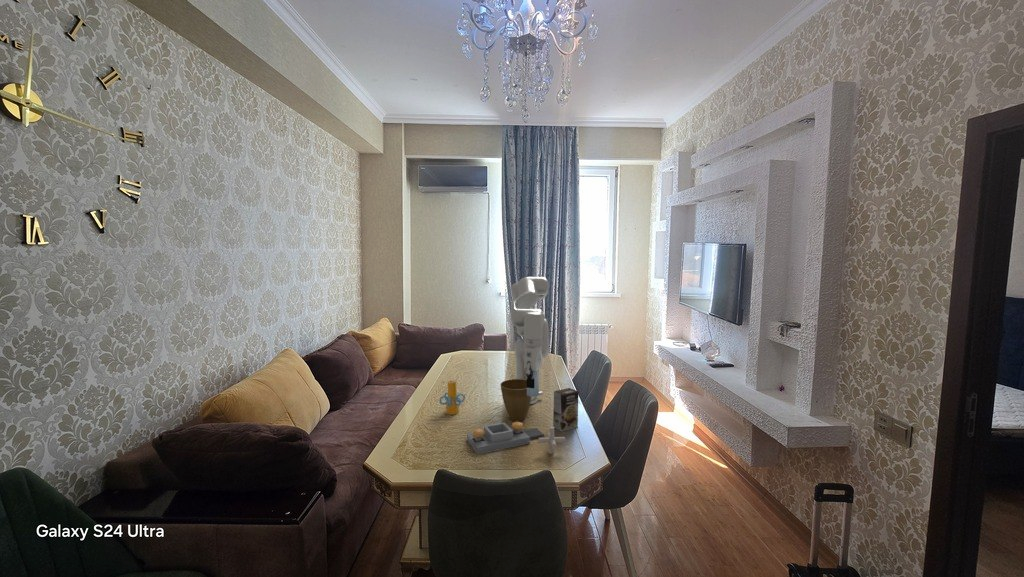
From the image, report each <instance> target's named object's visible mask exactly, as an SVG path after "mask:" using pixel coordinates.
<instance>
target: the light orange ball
mask: <svg viewBox="0 0 1024 577" xmlns="http://www.w3.org/2000/svg"><path fill="white" fill-rule="evenodd" d="M523 424H524V423H523V422H520V421H514V422H512V423H511V426H512V429H514V434H515V435H516V434H521V430H523V429H524V425H523Z"/></svg>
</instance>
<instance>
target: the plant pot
mask: <svg viewBox="0 0 1024 577" xmlns="http://www.w3.org/2000/svg"><path fill="white" fill-rule="evenodd" d="M500 390H501V391H500V392H501V394H502V395H501V396H502V399H503V404H504V407H505V410H506V413H507V416H508V418H509V420H512V421H514V422H520V421H523V420H525V419H526V417H527V415H528V412H529V408H530V405H531V404H530V401H531V396H528V395H527V380H524V379H516V378H514V379H513V378H512V379H506V380H504V381H502V382H500Z"/></svg>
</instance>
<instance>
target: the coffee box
mask: <svg viewBox="0 0 1024 577" xmlns="http://www.w3.org/2000/svg"><path fill="white" fill-rule="evenodd" d="M552 416H553V417H552V419H553V420H552V421H553V422H552V427H554V429H556V430H558V431H559V432H565V431H569V430H572V429H576V428H578V425H579V424H578V423H579V391H578V390H576V389H573V388H570V387H567V388H564V389H559V390H554V391H553V415H552Z"/></svg>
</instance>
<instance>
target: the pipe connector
mask: <svg viewBox="0 0 1024 577" xmlns="http://www.w3.org/2000/svg"><path fill="white" fill-rule="evenodd" d="M546 435H547V437H540V438H537V439H538V440H537V441H538V444H543V443H544V444H547V443H548V444H549V446H548V448H549V451H548V452H549V454H551V455H554V454H555V449H557V443H564V442H565V443H566V437H565V436H555V427H553V426H549V432H547V434H546Z"/></svg>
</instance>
